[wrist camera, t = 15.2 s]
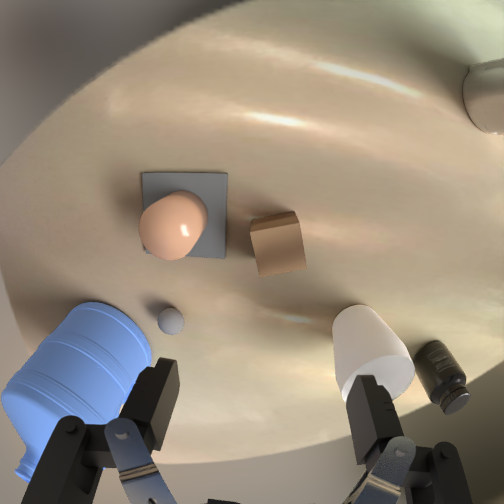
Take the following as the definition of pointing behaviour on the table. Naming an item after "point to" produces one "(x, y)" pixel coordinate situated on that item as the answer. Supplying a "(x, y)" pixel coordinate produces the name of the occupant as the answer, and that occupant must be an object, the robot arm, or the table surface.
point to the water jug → (75, 376)
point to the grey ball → (171, 321)
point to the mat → (208, 190)
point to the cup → (369, 351)
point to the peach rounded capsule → (173, 224)
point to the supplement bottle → (441, 377)
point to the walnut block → (278, 244)
